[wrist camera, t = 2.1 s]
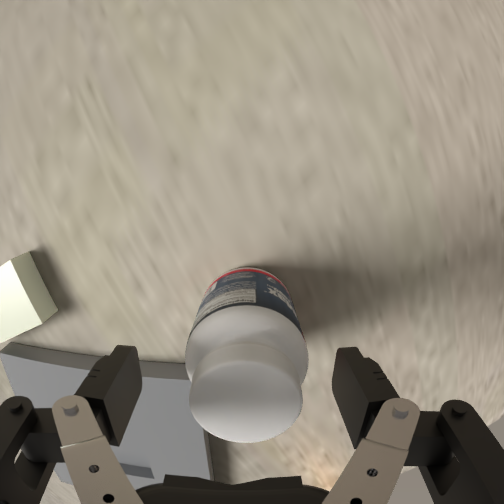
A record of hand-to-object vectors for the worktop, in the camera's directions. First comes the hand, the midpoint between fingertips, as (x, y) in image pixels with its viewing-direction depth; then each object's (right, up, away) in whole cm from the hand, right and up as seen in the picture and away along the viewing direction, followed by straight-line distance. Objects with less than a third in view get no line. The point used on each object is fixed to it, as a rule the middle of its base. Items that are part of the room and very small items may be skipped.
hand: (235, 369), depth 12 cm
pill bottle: (0, +1, +7) cm, 7 cm away
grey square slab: (-11, -10, +9) cm, 18 cm away
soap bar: (-17, +1, +7) cm, 18 cm away
